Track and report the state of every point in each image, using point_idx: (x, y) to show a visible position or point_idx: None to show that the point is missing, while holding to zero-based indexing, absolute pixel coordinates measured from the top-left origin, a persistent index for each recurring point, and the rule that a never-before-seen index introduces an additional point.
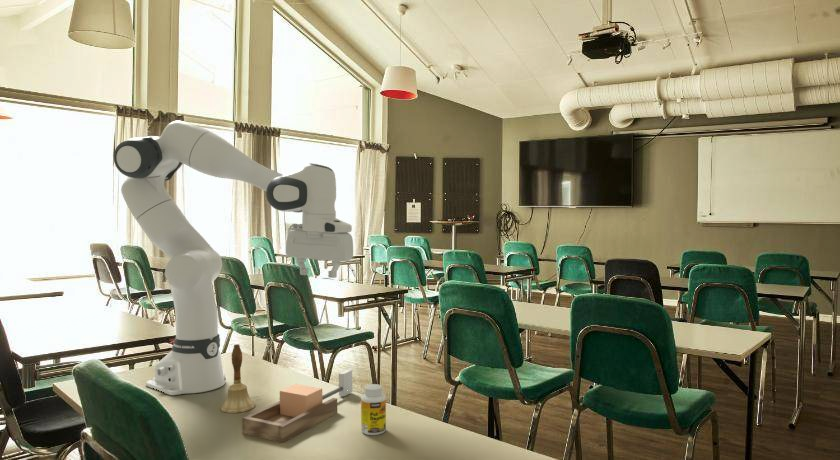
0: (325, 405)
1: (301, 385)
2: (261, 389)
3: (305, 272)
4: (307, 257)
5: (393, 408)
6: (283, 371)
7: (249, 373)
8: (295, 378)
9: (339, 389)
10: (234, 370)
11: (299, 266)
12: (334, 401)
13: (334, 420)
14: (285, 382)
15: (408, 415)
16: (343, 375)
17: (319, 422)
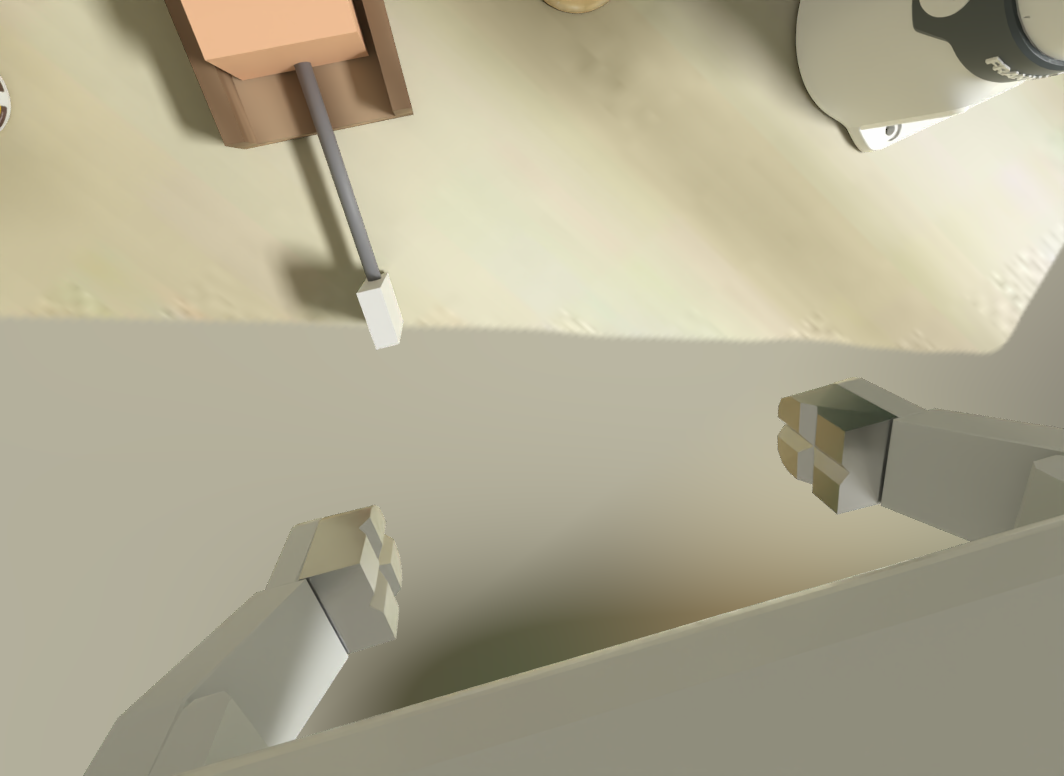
0: (188, 55)
1: (317, 30)
2: (661, 147)
3: (801, 429)
4: (943, 568)
5: (147, 310)
6: (737, 325)
7: (818, 238)
8: (652, 303)
9: (361, 261)
10: None
11: (965, 419)
12: (218, 125)
13: (177, 80)
14: (649, 254)
15: (44, 295)
16: (358, 292)
17: None
